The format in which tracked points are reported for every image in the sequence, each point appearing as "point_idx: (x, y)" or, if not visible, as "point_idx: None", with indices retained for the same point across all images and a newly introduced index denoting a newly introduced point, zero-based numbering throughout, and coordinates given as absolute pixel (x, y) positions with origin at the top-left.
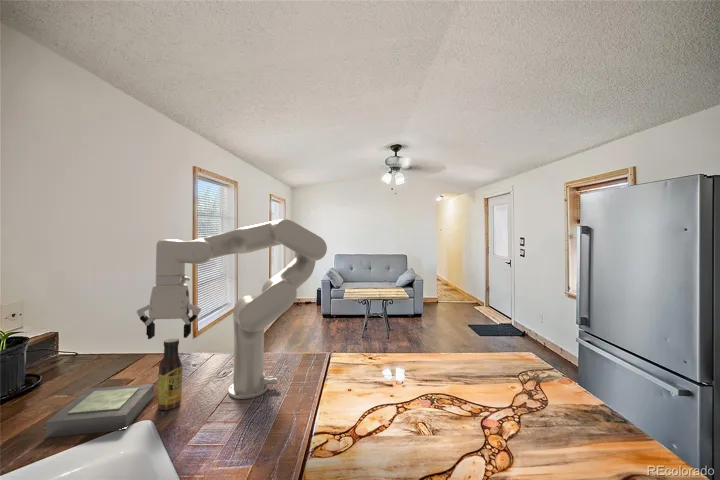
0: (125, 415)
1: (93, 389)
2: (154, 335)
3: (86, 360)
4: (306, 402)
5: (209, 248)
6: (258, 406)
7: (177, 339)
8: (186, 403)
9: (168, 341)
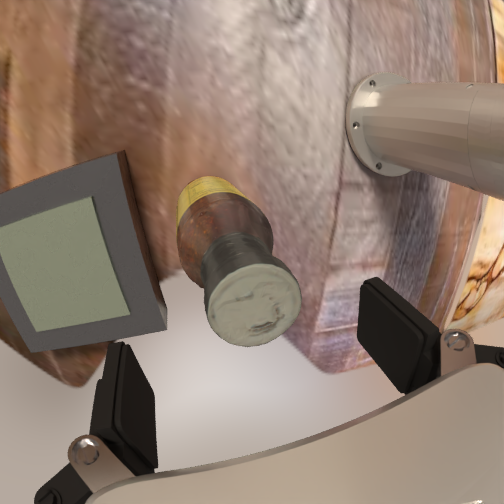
0: (166, 329)
1: None
2: (128, 344)
3: None
4: (473, 196)
5: None
6: (414, 207)
7: (289, 286)
8: (250, 188)
9: (248, 332)
